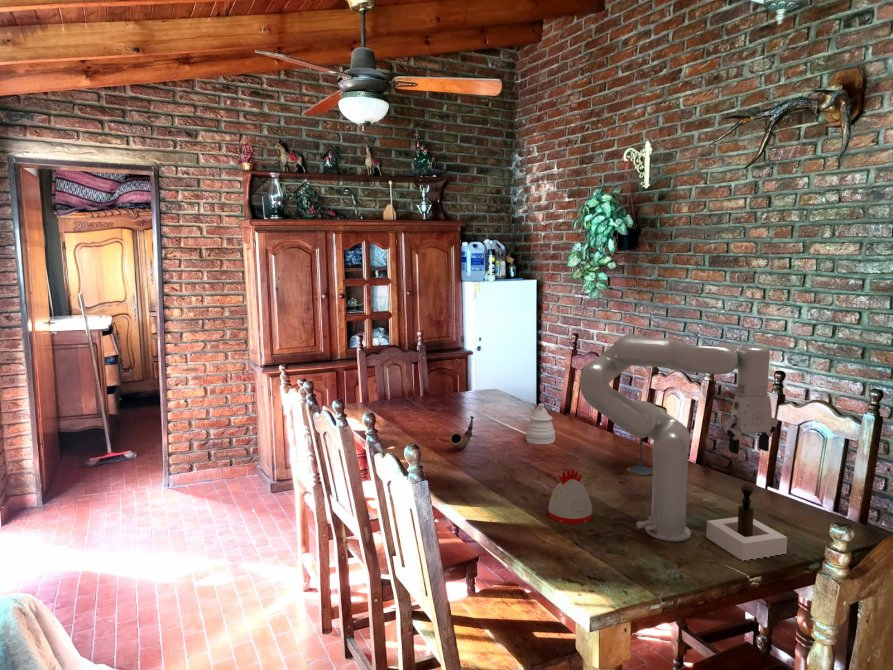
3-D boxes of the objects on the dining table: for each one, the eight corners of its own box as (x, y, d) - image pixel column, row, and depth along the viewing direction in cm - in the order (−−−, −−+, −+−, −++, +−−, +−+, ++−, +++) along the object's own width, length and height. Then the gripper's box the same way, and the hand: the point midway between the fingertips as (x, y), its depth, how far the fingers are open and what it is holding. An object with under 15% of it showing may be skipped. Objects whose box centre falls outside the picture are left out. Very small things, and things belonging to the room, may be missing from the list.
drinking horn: (448, 454, 260) (448, 431, 259) (466, 436, 288) (466, 415, 287) (461, 455, 259) (461, 432, 258) (478, 437, 287) (478, 415, 285)
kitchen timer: (540, 510, 201) (540, 465, 199) (576, 503, 206) (576, 460, 205) (563, 526, 188) (564, 479, 187) (601, 519, 193) (602, 473, 192)
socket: (742, 561, 166) (743, 543, 165) (706, 537, 180) (706, 520, 180) (786, 554, 169) (787, 537, 169) (747, 531, 184) (748, 515, 183)
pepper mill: (735, 538, 179) (738, 478, 177) (759, 544, 175) (763, 483, 173) (728, 546, 174) (731, 485, 172) (753, 553, 170) (757, 490, 168)
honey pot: (557, 446, 270) (557, 406, 268) (527, 446, 270) (528, 406, 268) (552, 438, 283) (553, 400, 281) (524, 438, 283) (524, 400, 281)
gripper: (734, 395, 164) (731, 457, 166) (789, 391, 168) (785, 453, 170) (715, 389, 171) (712, 449, 173) (768, 386, 175) (764, 445, 177)
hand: (748, 451), depth 172 cm, fingers open, 9 cm apart
